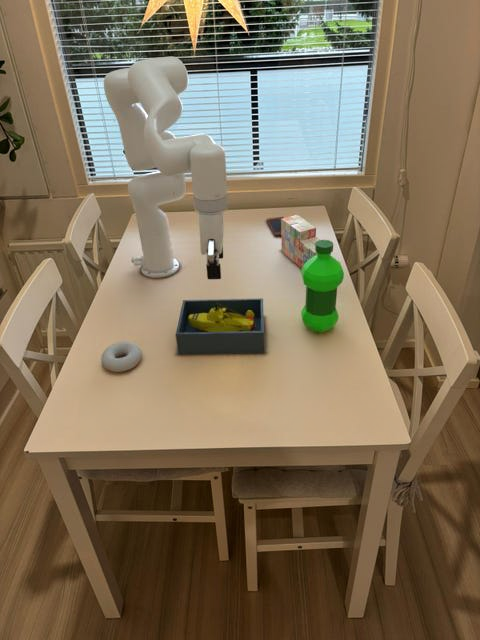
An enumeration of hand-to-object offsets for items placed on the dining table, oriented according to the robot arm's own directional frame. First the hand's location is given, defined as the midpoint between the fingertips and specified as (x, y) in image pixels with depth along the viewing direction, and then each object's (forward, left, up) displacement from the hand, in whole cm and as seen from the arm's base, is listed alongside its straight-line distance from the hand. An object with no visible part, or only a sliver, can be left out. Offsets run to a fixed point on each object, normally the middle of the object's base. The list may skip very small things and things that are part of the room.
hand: (215, 268), depth 117 cm
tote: (+1, -1, -20) cm, 20 cm away
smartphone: (+19, +65, -20) cm, 71 cm away
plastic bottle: (+27, +2, -20) cm, 34 cm away
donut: (-24, -11, -20) cm, 34 cm away
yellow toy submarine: (+1, -1, -20) cm, 20 cm away
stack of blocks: (+25, +38, -20) cm, 50 cm away
